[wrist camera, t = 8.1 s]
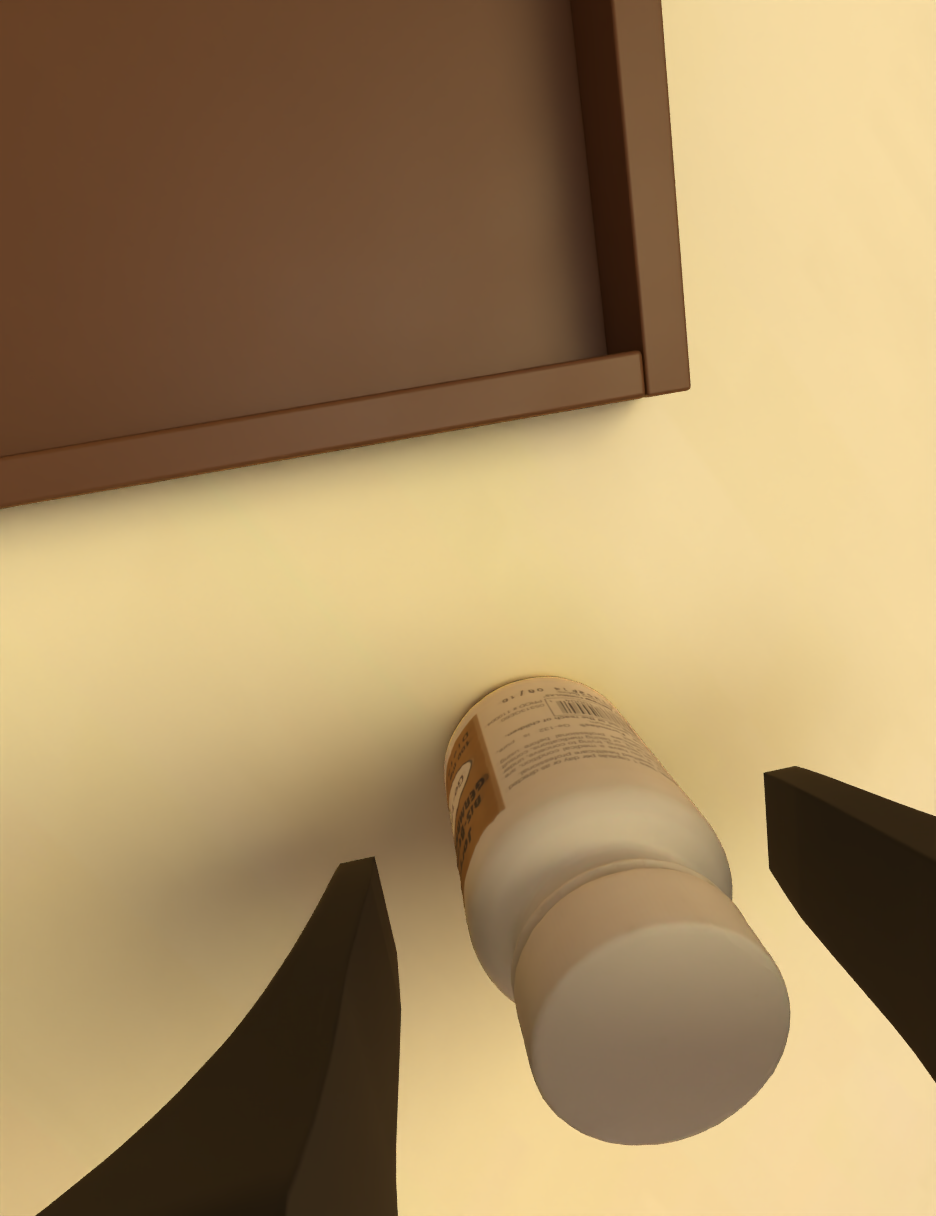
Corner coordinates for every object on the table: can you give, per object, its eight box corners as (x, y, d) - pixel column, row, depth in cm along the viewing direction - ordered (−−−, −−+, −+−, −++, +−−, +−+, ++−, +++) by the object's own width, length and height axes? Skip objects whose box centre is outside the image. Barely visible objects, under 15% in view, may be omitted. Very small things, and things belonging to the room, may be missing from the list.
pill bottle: (412, 715, 16) (437, 978, 8) (596, 642, 16) (786, 837, 8) (480, 872, 17) (556, 1227, 9) (651, 804, 17) (860, 1102, 9)
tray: (-145, 531, 13) (-254, 552, 11) (-453, -240, 10) (-693, -431, 8) (643, 395, 14) (692, 389, 12) (574, -342, 11) (621, -536, 9)
